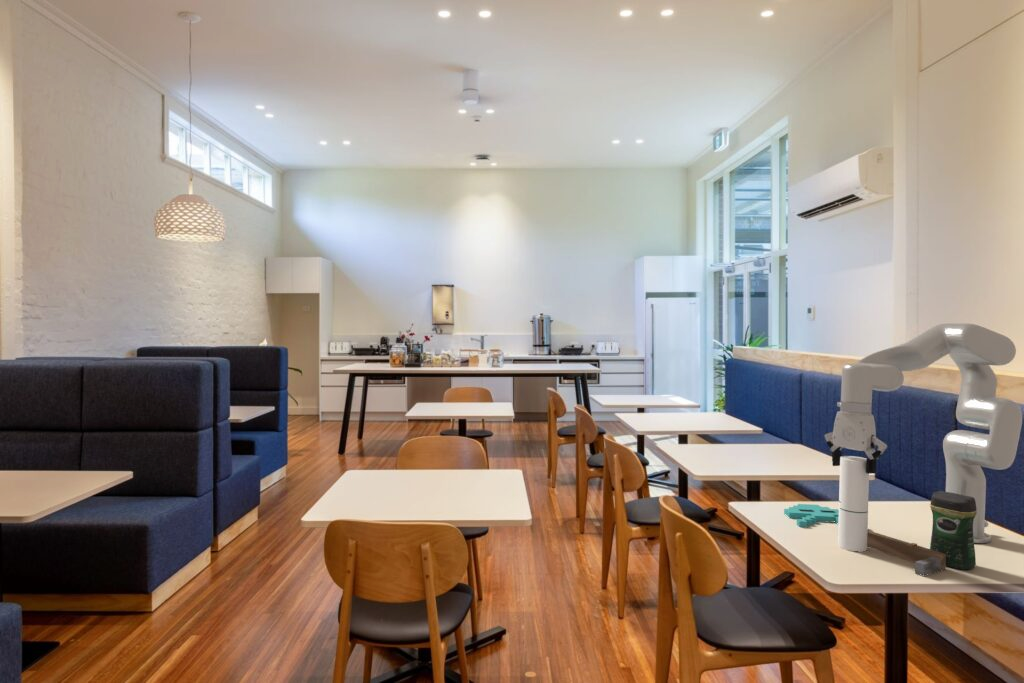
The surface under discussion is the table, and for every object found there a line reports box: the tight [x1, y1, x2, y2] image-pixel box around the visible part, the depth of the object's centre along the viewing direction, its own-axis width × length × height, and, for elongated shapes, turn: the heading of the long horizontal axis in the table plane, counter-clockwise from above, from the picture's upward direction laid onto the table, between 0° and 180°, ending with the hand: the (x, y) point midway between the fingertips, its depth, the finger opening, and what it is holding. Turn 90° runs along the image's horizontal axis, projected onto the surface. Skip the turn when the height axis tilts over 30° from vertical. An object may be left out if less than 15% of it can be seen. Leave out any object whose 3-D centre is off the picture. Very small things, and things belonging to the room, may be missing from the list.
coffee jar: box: [929, 490, 977, 570], centre depth 158 cm, size 10×8×19 cm
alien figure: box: [783, 503, 839, 528], centre depth 195 cm, size 20×2×20 cm
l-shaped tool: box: [867, 528, 947, 576], centre depth 163 cm, size 10×27×4 cm, turn 28°
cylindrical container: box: [837, 455, 870, 553], centre depth 168 cm, size 7×7×25 cm
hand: (853, 469), depth 168 cm, fingers open, 9 cm apart
